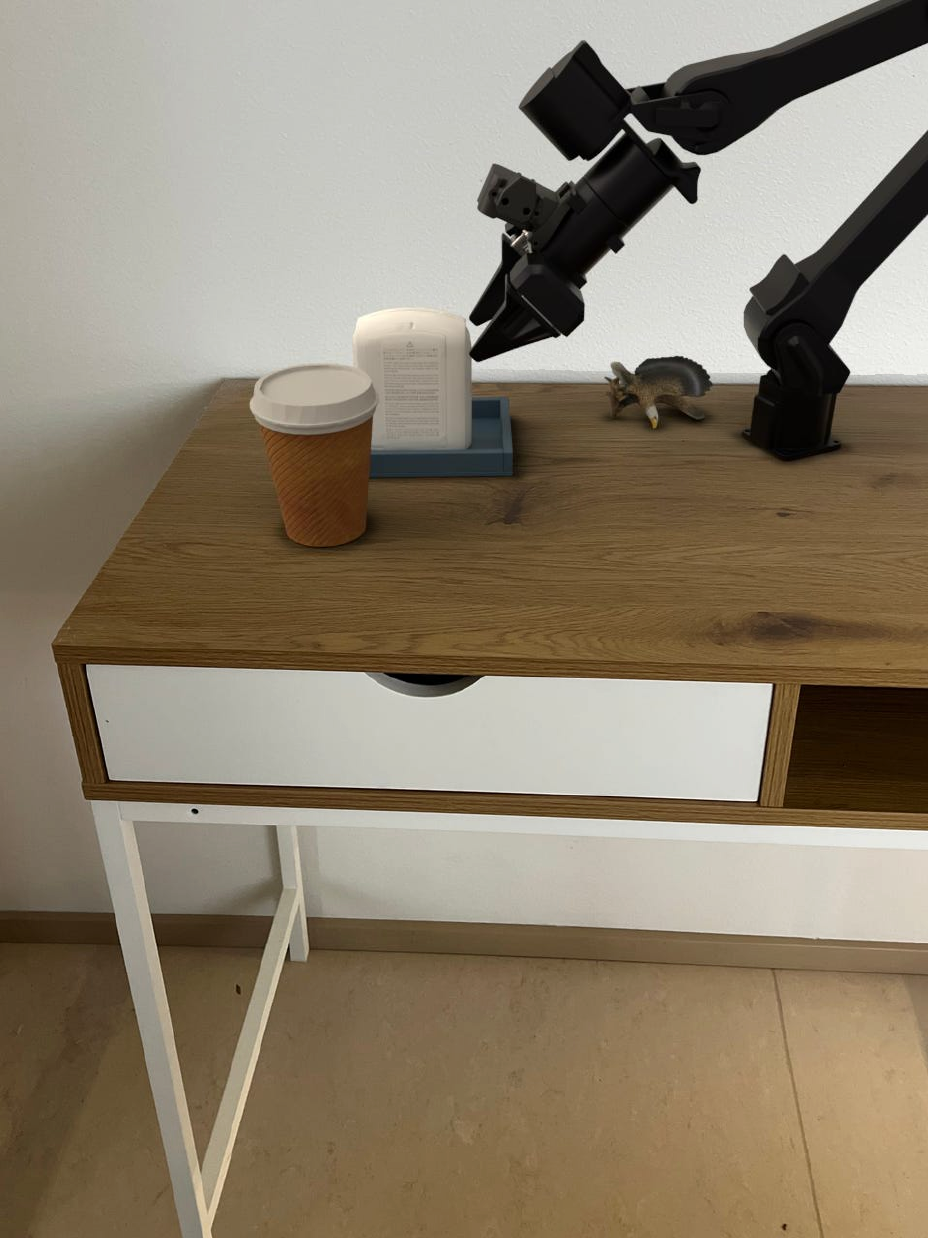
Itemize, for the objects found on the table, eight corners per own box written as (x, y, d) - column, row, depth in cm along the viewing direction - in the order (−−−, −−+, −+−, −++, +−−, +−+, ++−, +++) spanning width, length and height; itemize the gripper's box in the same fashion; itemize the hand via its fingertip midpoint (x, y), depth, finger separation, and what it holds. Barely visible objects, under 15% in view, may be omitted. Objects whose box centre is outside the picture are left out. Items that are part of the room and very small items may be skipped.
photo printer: (472, 435, 104) (471, 300, 98) (472, 454, 101) (471, 316, 94) (360, 436, 104) (351, 301, 98) (356, 455, 101) (346, 317, 94)
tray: (508, 418, 108) (508, 396, 107) (512, 475, 98) (513, 452, 97) (323, 420, 109) (321, 398, 107) (307, 478, 98) (305, 454, 97)
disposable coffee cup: (283, 568, 85) (266, 417, 79) (252, 514, 93) (234, 372, 86) (403, 542, 88) (396, 395, 82) (364, 492, 96) (355, 353, 89)
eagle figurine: (621, 430, 103) (719, 408, 102) (604, 353, 103) (702, 330, 102) (612, 443, 110) (704, 422, 110) (596, 371, 110) (688, 350, 110)
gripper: (531, 108, 97) (407, 244, 103) (543, 151, 81) (396, 308, 87) (619, 203, 101) (495, 328, 107) (648, 261, 85) (500, 404, 91)
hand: (472, 339), depth 98 cm, fingers open, 9 cm apart
